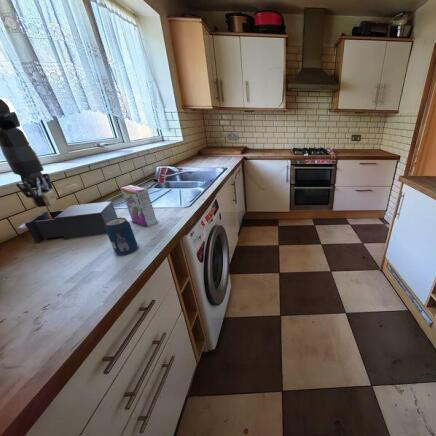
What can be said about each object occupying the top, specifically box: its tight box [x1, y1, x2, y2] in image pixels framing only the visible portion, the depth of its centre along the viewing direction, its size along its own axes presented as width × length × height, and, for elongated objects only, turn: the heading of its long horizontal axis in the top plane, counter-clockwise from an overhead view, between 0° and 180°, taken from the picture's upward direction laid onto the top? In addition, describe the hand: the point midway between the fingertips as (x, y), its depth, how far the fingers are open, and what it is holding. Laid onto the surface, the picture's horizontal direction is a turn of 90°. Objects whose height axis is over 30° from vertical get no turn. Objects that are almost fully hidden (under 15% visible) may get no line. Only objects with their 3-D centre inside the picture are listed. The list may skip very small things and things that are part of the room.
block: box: [30, 190, 58, 208], centre depth 86 cm, size 4×4×4 cm
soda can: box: [105, 217, 138, 256], centre depth 79 cm, size 7×7×12 cm
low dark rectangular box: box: [54, 200, 119, 240], centre depth 94 cm, size 15×13×10 cm
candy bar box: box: [120, 184, 158, 227], centre depth 98 cm, size 11×5×16 cm, turn 63°
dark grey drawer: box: [16, 209, 65, 242], centre depth 91 cm, size 18×11×8 cm, turn 109°
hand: (46, 203), depth 87 cm, fingers closed on block, 4 cm apart
